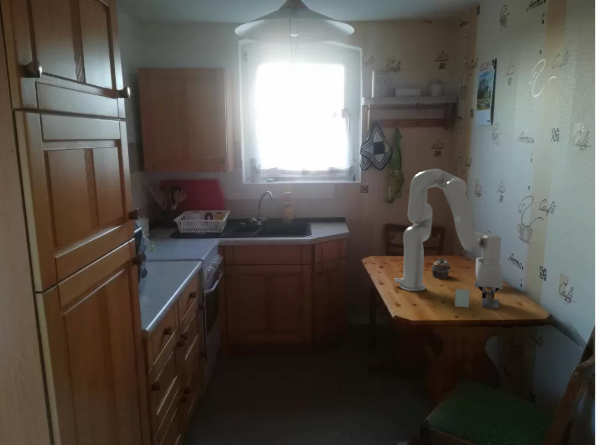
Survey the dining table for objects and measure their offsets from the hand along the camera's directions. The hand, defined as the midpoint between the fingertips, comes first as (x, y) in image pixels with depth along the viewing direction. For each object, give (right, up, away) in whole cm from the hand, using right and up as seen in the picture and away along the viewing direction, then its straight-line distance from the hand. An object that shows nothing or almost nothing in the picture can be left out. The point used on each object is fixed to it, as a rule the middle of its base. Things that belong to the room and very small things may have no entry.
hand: (487, 300), depth 217 cm
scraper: (-1, -1, -3) cm, 3 cm away
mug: (+9, +4, +24) cm, 26 cm away
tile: (-14, -2, -6) cm, 16 cm away
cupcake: (-10, +6, +39) cm, 41 cm away
